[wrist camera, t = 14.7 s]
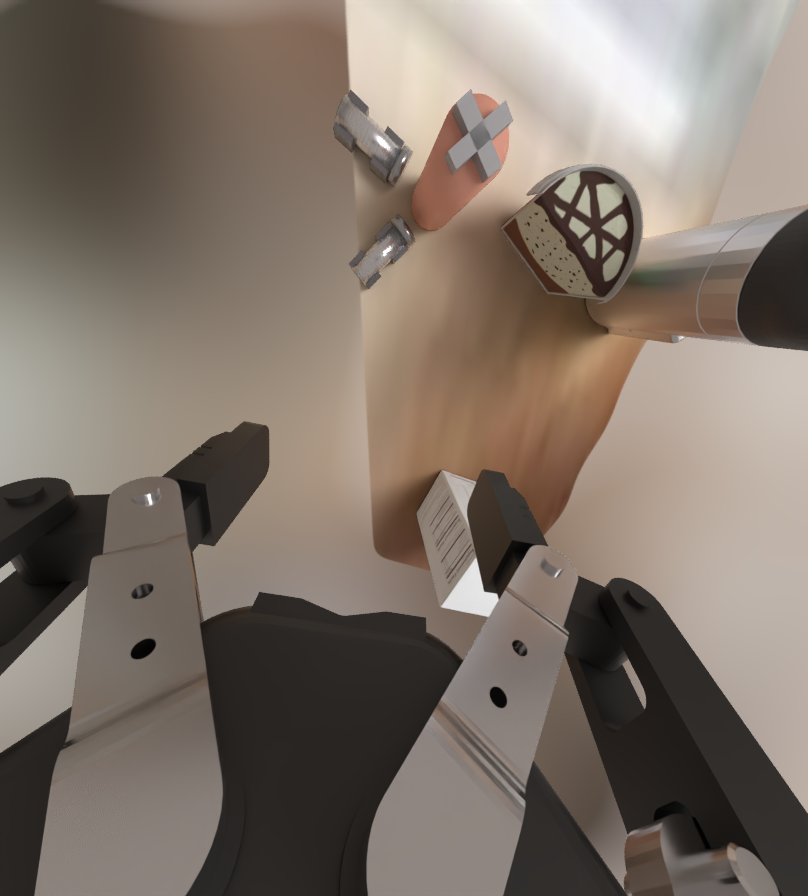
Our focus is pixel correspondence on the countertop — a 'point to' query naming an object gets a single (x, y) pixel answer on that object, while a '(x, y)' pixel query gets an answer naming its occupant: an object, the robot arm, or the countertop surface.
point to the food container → (579, 231)
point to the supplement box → (453, 546)
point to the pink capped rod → (462, 159)
